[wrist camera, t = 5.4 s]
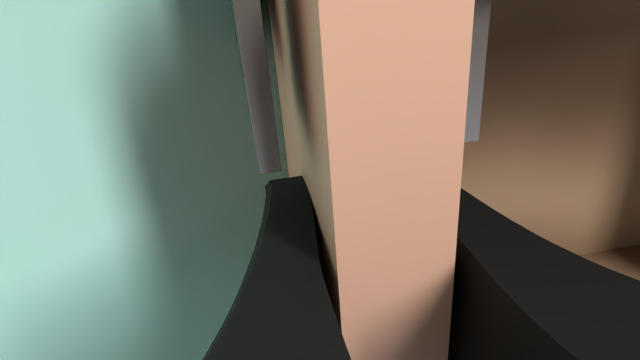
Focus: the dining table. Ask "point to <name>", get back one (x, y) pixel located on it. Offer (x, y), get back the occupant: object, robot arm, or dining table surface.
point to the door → (379, 158)
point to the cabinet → (529, 118)
